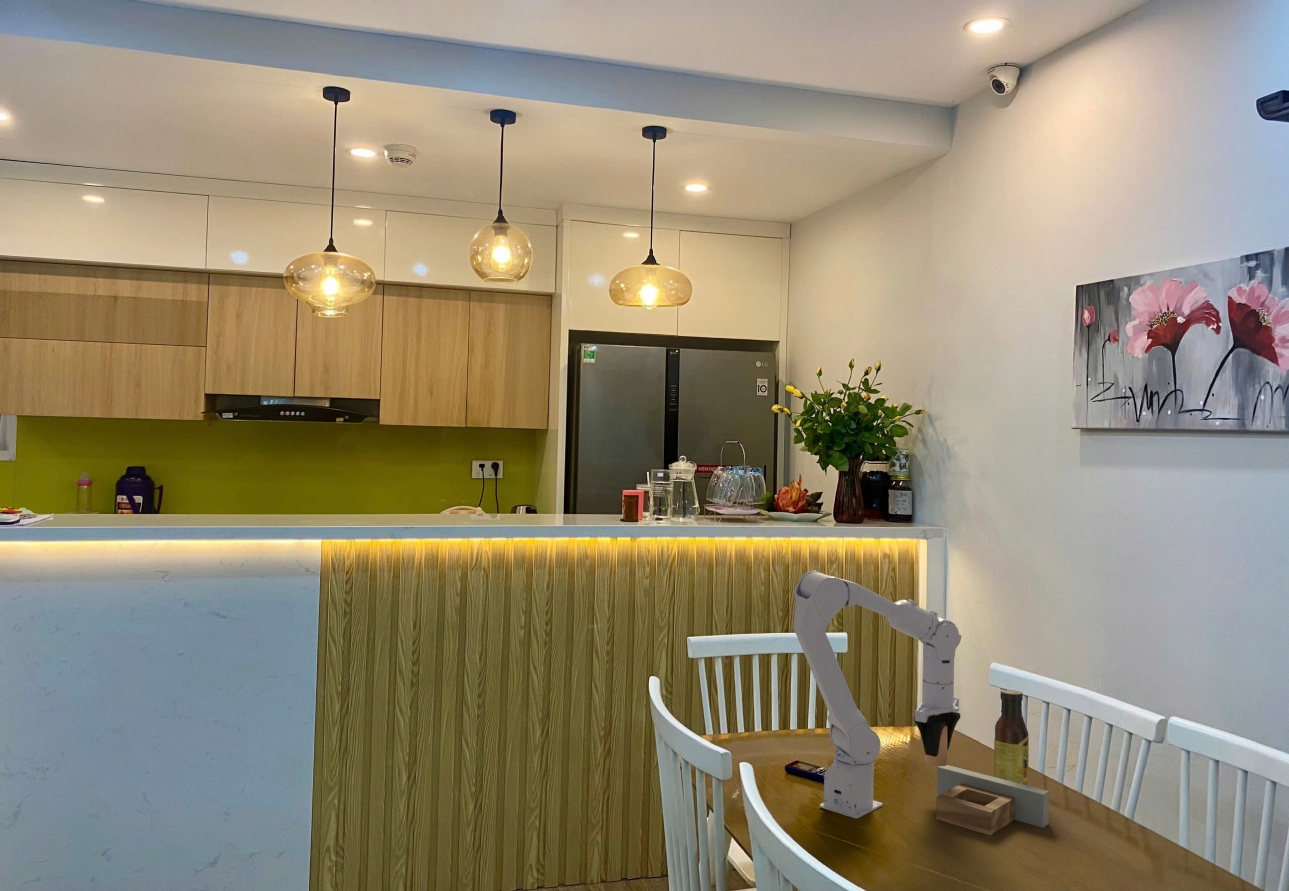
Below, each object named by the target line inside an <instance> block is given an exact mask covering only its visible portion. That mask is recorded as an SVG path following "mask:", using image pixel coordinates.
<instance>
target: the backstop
mask: <svg viewBox="0 0 1289 891" xmlns="http://www.w3.org/2000/svg"><path fill="white" fill-rule="evenodd" d="M936 774H937V779H936V780H937V782H936V783H937V786H936V787H937V790H936V797H937V796H939V795H941V794H943V793H945V792H947V791H949V790H950V789H952V788H954V787H956V786H958V785H960V784H965V785H969V786H973V787H976V788H980V789H984V790H988V791H991V792H995V793H999V794H1002V795H1006V796H1010V797H1014V820H1013V821H1019V822H1022V823H1024V824H1028V825H1031V826H1036V827H1039V828H1042V829H1043V828H1045V827H1047V826H1048V825H1049V816H1050V815H1049V810H1050V809H1049V808H1050V807H1049V806H1050V805H1049V804H1050V798H1049V797H1050V791H1049V790H1045V789H1042V788H1039V787H1035V786H1030V785H1028V786H1027V785H1023V784H1019V783H1015V782H1012V781H1008V780H1004V779H1000V778H996V777H994V776H991V775H987V774H983V773H979V772H975V771H973V770H968V769H964V768H960V767H957V766H952V765H949V764H947V765H946V766H937V773H936Z"/></svg>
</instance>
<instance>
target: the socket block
mask: <svg viewBox="0 0 1289 891" xmlns="http://www.w3.org/2000/svg"><path fill="white" fill-rule="evenodd" d="M935 806H936V811H935V813H936V814H935V815H936V816H935V819H936V820H937V821H941V822H944V823H948V824H951V825H954V826H958V827H961V828H964V829H967V830H972V831H974V832H977V833H980V834H984V835H987V836H992V835H994V834H995V833H997V832H998V831H999V830H1001V829H1002V828H1004V827H1006V826H1007V825H1009V824H1010V823H1012V822H1013V821H1015V820H1014V797H1010V796H1006V795H1002V794H999V793H995V792H991V791H988V790H984V789H980V788H976V787H973V786H969V785H965V784H960V785H958V786H956V787H954V788H952V789H950V790H949V791H947V792H945V793H943V794H941V795H939V796H937V795H936V805H935Z"/></svg>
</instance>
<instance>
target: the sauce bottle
mask: <svg viewBox="0 0 1289 891" xmlns="http://www.w3.org/2000/svg"><path fill="white" fill-rule="evenodd" d="M1023 696H1024V695H1023V692H1022V691H1019V690H1015V689H1014V690H1013V689H1001V690H1000V700H1001V703H1000V704H1001V709H1000V713H1001V715H1000V717H999V718H998V720H997V721H996V722H995V725H994V740H993V742H994V743H993V744H994V747H993V749H994V750H993V751H994V754H993V756H994V758H993V761H994V762H993V765H994V766H993V770H994V771H993V774H994V775H993V777H996V778H1000V779H1004V780H1008V781H1012V782H1015V783H1019V784H1023V785H1027V786H1029V765H1030V764H1029V761H1030V760H1029V755H1030V754H1029V750H1030V748H1029V739H1030V738H1029V735H1030V734H1029V732H1028V729H1027V725H1026V723H1025V719H1024V717H1023V711H1022V710H1023V707H1022V705H1023V704H1022V702H1023V699H1024V698H1023Z"/></svg>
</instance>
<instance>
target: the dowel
mask: <svg viewBox="0 0 1289 891" xmlns="http://www.w3.org/2000/svg"><path fill="white" fill-rule="evenodd" d="M924 756H925V757H924V762H925V764H927V765H929V766H933V767H938V766H946V765H948V751H947V726H946V725H945V726H944V728H943V731H942V734H941V738H940V744H939V751H938V755H937V756H936V757H934V756H930V755H926V754H924Z"/></svg>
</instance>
